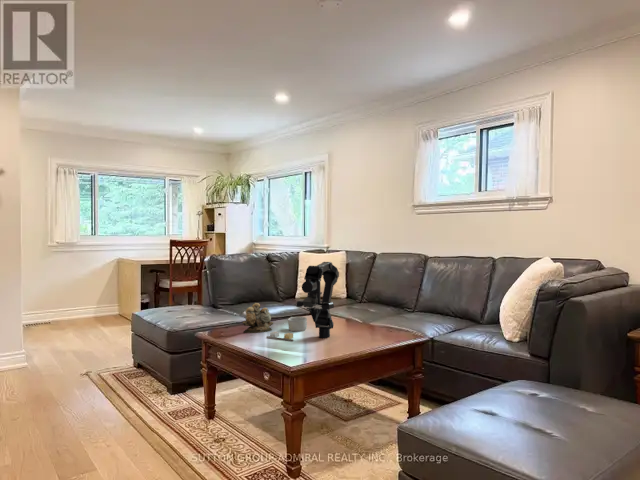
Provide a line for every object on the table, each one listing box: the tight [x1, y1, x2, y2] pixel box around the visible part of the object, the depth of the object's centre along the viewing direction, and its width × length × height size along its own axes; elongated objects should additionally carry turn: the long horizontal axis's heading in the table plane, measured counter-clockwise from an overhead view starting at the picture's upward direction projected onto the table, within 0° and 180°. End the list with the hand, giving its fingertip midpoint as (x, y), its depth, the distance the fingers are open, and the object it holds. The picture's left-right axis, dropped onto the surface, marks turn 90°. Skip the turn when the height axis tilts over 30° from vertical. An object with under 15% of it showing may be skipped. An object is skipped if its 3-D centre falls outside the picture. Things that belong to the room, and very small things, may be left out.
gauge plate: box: [266, 335, 294, 342], centre depth 236 cm, size 14×19×2 cm
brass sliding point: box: [283, 332, 294, 339], centre depth 233 cm, size 5×3×2 cm, turn 151°
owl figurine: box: [242, 302, 274, 334], centre depth 254 cm, size 18×12×17 cm, turn 120°
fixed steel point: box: [269, 331, 280, 338], centre depth 237 cm, size 6×3×2 cm, turn 151°
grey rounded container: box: [287, 316, 308, 332], centre depth 257 cm, size 14×11×8 cm
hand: (314, 321), depth 224 cm, fingers closed
